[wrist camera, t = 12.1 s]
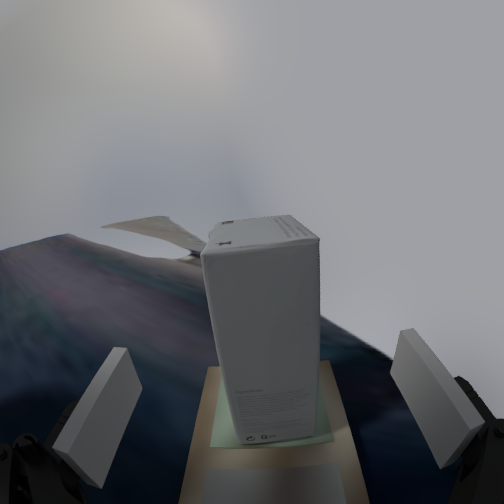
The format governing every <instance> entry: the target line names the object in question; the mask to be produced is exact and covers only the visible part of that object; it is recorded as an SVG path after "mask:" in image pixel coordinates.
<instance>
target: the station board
mask: <svg viewBox="0 0 504 504" xmlns="http://www.w3.org/2000/svg"><path fill="white" fill-rule="evenodd" d="M179 504H370V503H369V499H368V495H367V490H366V486H365V483H364V479H363V475H362V471H361V467H360V463H359V460H358V456H357V452H356V449H355V445H354V441H353V438H352V434H351V431H350V427H349V424H348V420H347V417H346V413H345V410H344V407H343V403H342V400H341V397H340V393H339V390H338V387H337V384H336V380H335V377H334V374H333V371H332V368H331V364H330V361H329V360H325V361H319V384H318V400H317V417H316V430H315V435H314V436H313V437H310V438H303V439H296V440H289V441H278V442H266V443H255V444H238V442H237V438H236V433H235V430H234V426H233V421H232V417H231V413H230V409H229V405H228V401H227V396H226V392H225V388H224V383H223V378H222V373H221V368H220V367H208V371H207V376H206V380H205V384H204V389H203V393H202V397H201V402H200V406H199V411H198V415H197V420H196V424H195V429H194V433H193V438H192V442H191V447H190V451H189V456H188V461H187V465H186V470H185V475H184V479H183V484H182V489H181V494H180V499H179Z"/></svg>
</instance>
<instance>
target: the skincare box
mask: <svg viewBox="0 0 504 504" xmlns="http://www.w3.org/2000/svg"><path fill="white" fill-rule="evenodd" d="M208 236H209V241H208V243H207V245H206V246H205V248H204V249H203V251H202V252H201V255H200V256H201V263H202V270H203V276H204V282H205V288H206V294H207V300H208V306H209V312H210V317H211V323H212V328H213V333H214V338H215V344H216V349H217V354H218V359H219V364H220V368H221V373H222V378H223V383H224V388H225V392H226V396H227V401H228V405H229V409H230V413H231V417H232V421H233V426H234V430H235V433H236V438H237V442H238V444H255V443H266V442H278V441H289V440H296V439H303V438H310V437H313V436H314V435H315V430H316V417H317V400H318V384H319V360H320V259H319V257H320V256H319V241H320V239H319V237H317V236H316V235H315V234H314V233H312V232H311V231H310V230H308V229H307V228H306V227H304V226H303V225H302V224H301V223H299V222H298V221H297V220H296V219H294V218H293V217H292V216H291V215H282V216H271V217H262V218H253V219H244V220H235V221H227V222H219V223H217V224H215V227H214V230H212V231H210V232H209V233H208Z"/></svg>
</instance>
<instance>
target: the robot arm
mask: <svg viewBox="0 0 504 504" xmlns="http://www.w3.org/2000/svg"><path fill="white" fill-rule="evenodd" d="M390 374H391V376H392V377H393V379H394V381H395V383H396V385H397V386H398V388H399V390H400V392H401V394H402V395H403V397H404V399H405V401H406V403H407V405H408V407H409V408H410V410H411V412H412V414H413V416H414V418H415V420H416V422H417V424H418V426H419V428H420V429H421V431H422V433H423V435H424V437H425V439H426V441H427V443H428V445H429V447H430V449H431V452H432V454H433V456H434V458H435V460H436V462H437V464H438V466H439V468H440V469H442V468H444V467H446V466H448V465H451V464H453V463H455V461H456V460H457V459H458V458H459V457H460V455H461V456H462V458H463V460H462V462H461V463H460V464H459V465H458V466H457V467H456V468H455V470H454V472H453V473H454V474H455V473H456V472H457V471H458V470H459V471H458V475H457V478H456V481H455V484H454V487H453V490H452V493H451V495H450V498H449V501H448V503H447V504H504V419H496V418H495V417H494V416H493V414H492V413H491V411H490V410H489V409H488V407H487V406H486V405H485V403H484V402H483V401H482V399H481V398H480V397H478V394H477V393H476V391H474V389H473V388H472V386H471V385H470V384H469V382H468V381H466V380H465V379H463V378H462V377H460V376H457V377H455V378H453V377H452V376H451V374H450V373H449V372H448V370H447V369H446V368H445V367H444V365H443V364H442V363H441V362H440V360H439V359H438V358H437V356H436V355H435V354H434V353H433V351H432V350H431V349H430V348H429V347H428V345H427V344H426V343H425V342H424V340H423V339H422V338H421V337H420V336H419V335H418V333H417V332H416V331H415V330H414V329H413V328H412V329H407V330H402V331H400V335H399V339H398V344H397V348H396V352H395V356H394V360H393V364H392V368H391V371H390ZM142 389H143V388H142V386H141V383H140V381H139V378H138V376H137V373H136V371H135V368H134V366H133V363H132V360H131V358H130V355H129V352H128V349H127V348H117V347H114V348H113V350H112V351H111V353H110V354H109V356H108V357H107V359H106V360H105V362H104V363H103V365H102V366H101V368H100V369H99V371H98V372H97V374H96V375H95V377H94V378H93V380H92V382H91V383H90V385H89V386H88V388H87V390H86V391H85V393H84V394H83V396H82V398H81V399H80V401H75V400H74V401H72V402H71V403H70V404H69V405H67V406H66V407H65V409H64V411H63V412H62V414H61V417H59V419H58V420H57V423H56V424H55V425H54V427H53V428H52V430H51V432H50V433H49V435H48V437H47V439H46V440H45V442H44V444H43V445H42V444H41V442H40V441H39V440H38V439H37V438H36V437H35V436H34V435H33V434H30V433H24V434H22V435H19V436H18V437H17V438H16V439H15V441H14V443H13V448H12V447H11V446H10V445H9V444H7V443H4V442H3V443H0V504H88V502H87V499H86V497H85V495H84V492H83V490H82V487H81V485H80V484H79V482H78V481H79V479H80V478H81V479H82V480H83V481H84V482H86V483H87V484H89V485H92V486H95V487H98V488H101V489H102V487H103V485H104V482H105V479H106V477H107V474H108V471H109V469H110V466H111V464H112V461H113V458H114V456H115V453H116V451H117V448H118V446H119V443H120V441H121V438H122V436H123V433H124V431H125V429H126V426H127V424H128V421H129V419H130V417H131V414H132V412H133V409H134V407H135V405H136V402H137V400H138V398H139V396H140V393H141V391H142ZM13 449H14V450H15V451H14V450H13ZM17 484H18V485H19V489H18V490H17Z"/></svg>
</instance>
